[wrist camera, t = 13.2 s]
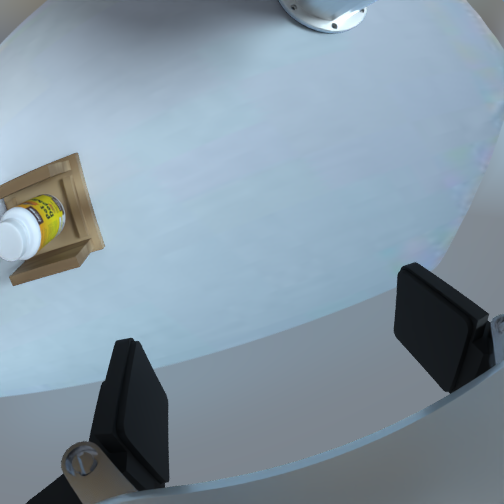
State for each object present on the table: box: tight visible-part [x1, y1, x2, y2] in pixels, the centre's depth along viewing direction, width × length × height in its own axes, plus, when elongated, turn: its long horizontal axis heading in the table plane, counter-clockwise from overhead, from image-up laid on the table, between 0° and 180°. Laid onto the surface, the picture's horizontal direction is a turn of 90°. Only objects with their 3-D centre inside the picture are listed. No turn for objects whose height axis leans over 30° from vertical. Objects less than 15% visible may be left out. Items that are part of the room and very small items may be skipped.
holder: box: [0, 153, 105, 286], centre depth 30 cm, size 12×12×7 cm
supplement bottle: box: [0, 194, 65, 262], centre depth 27 cm, size 6×6×10 cm
